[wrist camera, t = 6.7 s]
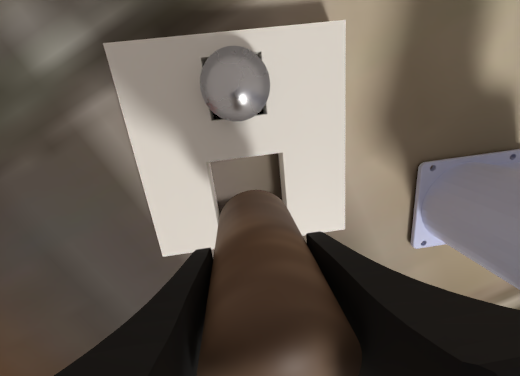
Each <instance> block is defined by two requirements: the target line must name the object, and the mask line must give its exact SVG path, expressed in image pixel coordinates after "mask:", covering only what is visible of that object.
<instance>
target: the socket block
mask: <svg viewBox="0 0 520 376" xmlns="http://www.w3.org/2000/svg"><path fill="white" fill-rule="evenodd" d="M345 31H346V20H338V21H328V22H318V23H307V24H297V25H287V26H276V27H266V28H255V29H245V30H235V31H224V32H214V33H204V34H193V35H183V36H173V37H162V38H152V39H141V40H131V41H121V42H110V43H103V45H104V49H105V52H106V56H107V59H108V63H109V66H110V70H111V74H112V77H113V81H114V84H115V88H116V91H117V95H118V98H119V102H120V106H121V109H122V113H123V116H124V120H125V123H126V127H127V131H128V134H129V138H130V141H131V145H132V148H133V152H134V155H135V159H136V163H137V166H138V170H139V173H140V177H141V180H142V184H143V187H144V191H145V195H146V198H147V202H148V205H149V209H150V212H151V216H152V220H153V223H154V227H155V230H156V234H157V237H158V241H159V244H160V248H161V252H162V255H163V257H164V256H171V255H178V254H184V253H191V252H194V251H195V250H196V249H203V248H210V247H211V249H215V243H216V237H217V230H218V223H219V217H220V214H219V209H218V203H217V198H216V192H215V186H214V181H213V175H212V170H211V164H210V162H213V161H221V160H229V159H236V158H244V157H252V156H260V155H267V154H275V153H278V157H279V169H280V180H281V192H282V201H283V202H284V204H285V205H286V207H287V209H288V210H289V212H290V214H291V216H292V218H293V220H294V222H295V223H296V225H297V227H298V229H299V231H300V233H301V235H302V236H303V235H306V233H312V232H319V231H321V232H329V231H336V230H342V229H345ZM226 46H241V47H244V48H247V49H249V50H251V51H252V52H254V53H255V54H256V55H258V57H259V58H260V59H261V60H262V61H263V63H264V64H265V66H266V68H267V71H268V74H269V78H270V92H269V97H268V100H267V102H266V104H265V106H264V107H263V112H264V114H258V115H255V116H254V117H252V118H250V119H248V120H245V121H238V122H234V121H228V120H225V119H216V120H214V117H213V112H212V111H211V110H210V109H209V107H208V106H207V105H206V103H205V101H204V99H203V97H202V94H201V90H200V75H201V71H202V68H203V65H204V63H205V62H206V60H207V59H208V58H209V56H210V55H211V54H212V53H214V52H215V51H217V50H218V49H220V48H223V47H226Z"/></svg>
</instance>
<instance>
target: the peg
mask: <svg viewBox="0 0 520 376" xmlns="http://www.w3.org/2000/svg"><path fill="white" fill-rule="evenodd" d="M361 363H362V351H361V347H360V343H359V341H358V339H357V336H356V335H355V333H354V331H353V329H352V327H351V325H350V323H349V322H348V320H347V318H346V316H345V314H344V312H343V311H342V309H341V307H340V305H339V303H338V301H337V299H336V298H335V296H334V294H333V292H332V290H331V288H330V286H329V285H328V283H327V281H326V279H325V277H324V275H323V273H322V272H321V270H320V268H319V266H318V264H317V262H316V260H315V259H314V257H313V255H312V253H311V251H310V249H309V247H308V246H307V244H306V242H305V240H304V238H303V236H302V235H301V233H300V231H299V229H298V227H297V225H296V223H295V222H294V220H293V218H292V216H291V214H290V212H289V210H288V209H287V207H286V205H285V204H284V202H283V201H282V200H281V199H280V198H279V197H277V196H276V195H274V194H272V193H270V192H267V191H262V190H249V191H245V192H242V193H240V194H237V195H236V196H234V197H233V198H231V199H230V200H229V201H228V202H227V203H226V204H225V206H224V207H223V209H222V211H221V214H220V217H219V223H218V230H217V237H216V243H215V250H214V257H213V264H212V271H211V278H210V285H209V292H208V299H207V306H206V313H205V320H204V326H203V333H202V340H201V347H200V354H199V361H198V368H197V376H358V375H359V372H360V368H361Z"/></svg>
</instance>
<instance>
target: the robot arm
mask: <svg viewBox="0 0 520 376" xmlns="http://www.w3.org/2000/svg"><path fill="white" fill-rule="evenodd" d="M431 166H432V168H431V169H430V167H431ZM306 237H307V246H308V247H309V249H310V251H311V253H312V255H313V257H314V259H315V260H316V262H317V264H318V266H319V268H320V270H321V272H322V273H323V275H324V277H325V279H326V281H327V283H328V285H329V286H330V288H331V290H332V292H333V294H334V296H335V298H336V299H337V301H338V303H339V305H340V307H341V309H342V311H343V312H344V314H345V316H346V318H347V320H348V322H349V323H350V325H351V327H352V329H353V331H354V333H355V335H356V336H357V339H358V341H359V343H360V347H361V351H362V363H361V368H360V372H359V375H358V376H520V310H517V309H512V308H507V307H503V306H499V305H496V304H492V303H488V302H485V301H481V300H477V299H474V298H470V297H467V296H463V295H460V294H456V293H453V292H450V291H447V290H444V289H441V288H438V287H435V286H432V285H429V284H426V283H424V282H421V281H418V280H415V279H413V278H410V277H408V276H406V275H403V274H401V273H398V272H396V271H393V270H391V269H389V268H387V267H385V266H382V265H380V264H378V263H376V262H374V261H372V260H370V259H368V258H366V257H365V256H363V255H361V254H359V253H357V252H355V251H354V250H352V249H350V248H348V247H347V246H345V245H343V244H342V243H340V242H338V241H336V240H335V239H333V238H331V237H330V236H328V235H326V234H325V233H323V232H321V231H319V232H312V233H306ZM422 241H423V242H422ZM443 244H447V245H449V246H451V247H452V248H454V249H455V250H457V251H459V252H460V253H462V254H463V255H465V256H467V257H468V258H470V259H471V260H473V261H475V262H476V263H478V264H479V265H481V266H483V267H484V268H486V269H487V270H489V271H490V272H492V273H494V274H495V275H497V276H498V277H500V278H502V279H503V280H505V281H506V282H508V283H510V284H511V285H513V286H514V287H516V288H518V289H519V290H520V149H516V150H508V151H501V152H494V153H486V154H479V155H472V156H464V157H457V158H450V159H443V160H435V161H428V162H423V163H421V164H420V166H419V168H418V176H417V186H416V195H415V205H414V215H413V225H412V234H411V246H412V247H414V248H416V249H418V248H424V247H431V246H437V245H443ZM212 264H213V257H212V252H211V247H210V248H203V249H196V250H195V251H194V252H193V253H192V255H191V256H190V257H189V258H188V259H187V260H186V262H185V263H184V264H183V265H182V266H181V268H180V269H179V270H178V271H177V272H176V273H175V274H174V276H173V277H172V278H171V279H170V280H169V281H168V282H167V283H166V284H165V285H164V286H163V287H162V289H161V290H160V291H159V292H158V293H157V294H156V295H155V296H154V297H153V298H152V299H151V300H150V301H149V302H148V303H147V304H146V305H145V306H144V307H142V308H141V309H140V310H139V311H138V312H137V313H136V314H135V315H134V316H132V317H131V318H130V319H129V320H128V321H127V322H126V323H124V324H123V325H122V326H121V327H120V328H118V329H117V330H116V331H114V332H113V333H112V334H111V335H109V336H108V337H107V338H105V339H104V340H103V341H102V342H100V343H99V344H98V345H96V346H95V347H94V348H93V349H91V350H90V351H89V352H87V353H86V354H84V355H83V356H82V357H80V358H79V359H77V360H76V361H75V362H73V363H72V364H70V365H69V366H67V367H66V368H65V369H63V370H62V371H60V372H59V373H57V374H56V375H54V376H197V368H198V361H199V354H200V347H201V340H202V333H203V326H204V320H205V313H206V306H207V299H208V292H209V285H210V278H211V271H212Z"/></svg>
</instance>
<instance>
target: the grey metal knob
mask: <svg viewBox="0 0 520 376" xmlns="http://www.w3.org/2000/svg"><path fill="white" fill-rule="evenodd" d="M200 90H201V94H202V97H203V99H204V101H205V103H206V105H207V106H208V107H209V109H210V110H211V111H212V112H213V113H214V114H216V115H217V116H219V117H221V118H222V119H225V120H228V121H234V122H238V121H245V120H248V119H250V118H252V117H254V116H255V115H257V114H258V113H259V112H260V111H261V110H262V109H263V107H264V106H265V104H266V102H267V100H268V97H269V92H270V78H269V74H268V71H267V68H266V66H265V64H264V63H263V61H262V60H261V59H260V58H259V57H258V55H256V54H255V53H254V52H252V51H251V50H249V49H247V48H244V47H241V46H226V47H223V48H220V49H218V50H217V51H215V52H214V53H212V54H211V55H210V56H209V58H208V59H207V60H206V62H205V63H204V65H203V68H202V71H201V75H200Z"/></svg>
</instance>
